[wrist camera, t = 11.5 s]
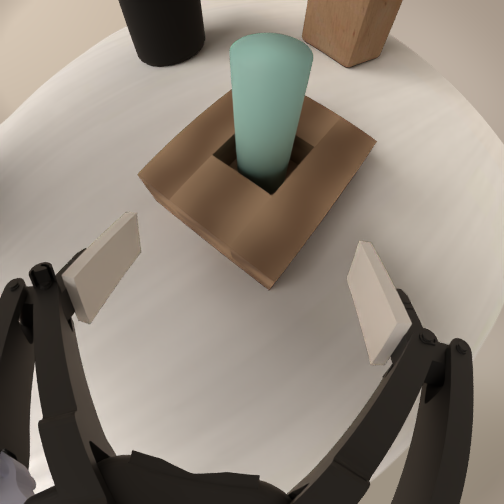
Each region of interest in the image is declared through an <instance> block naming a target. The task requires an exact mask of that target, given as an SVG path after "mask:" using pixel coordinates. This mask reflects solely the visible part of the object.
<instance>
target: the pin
mask: <svg viewBox="0 0 504 504" xmlns="http://www.w3.org/2000/svg"><path fill="white" fill-rule="evenodd" d="M312 62H313V53H312V51H311V50H310V48H309V47H308V46H307V45H306V44H304V43H303V42H301V41H299V40H298V39H295V38H293V37H290V36H287V35H283V34H277V33H257V34H251V35H247V36H245V37H242V38H240V39H238V40H237V41H235V42H234V43H233V44H232V46H231V47H230V68H231V83H232V98H233V112H234V126H235V140H236V154H237V168H238V173H240V174H241V175H243V176H244V177H246V178H247V179H249V180H250V181H252V182H253V183H255V184H256V185H257V186H259V187H260V188H262V189H263V190H265V191H266V192H267V193H269V194H272V193H274V192H276V191H277V190H278V189H279V187H280V186H281V185H282V184H283V183H284V180H285V176H286V172H287V168H288V164H289V160H290V156H291V152H292V147H293V143H294V139H295V135H296V131H297V127H298V122H299V118H300V114H301V110H302V105H303V101H304V97H305V92H306V88H307V84H308V79H309V75H310V71H311V66H312Z"/></svg>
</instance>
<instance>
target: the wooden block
mask: <svg viewBox="0 0 504 504" xmlns="http://www.w3.org/2000/svg"><path fill="white" fill-rule="evenodd" d="M401 3H402V0H308V3H307V9H306V15H305V21H304V27H303V33H302V38H303V40H304V41H306V42H307V43H309V44H311V45H312V46H314V47H316V48H317V49H319V50H320V51H322V52H323V53H325V54H327V55H328V56H330V57H331V58H333V59H334V60H336V61H337V62H339V63H340V64H341V65H343V66H345V67H351V66H354V65H357V64H360V63H362V62H365V61H368V60H371V59H374V58H377V57H378V56H379V55H380V53H381V51H382V49H383V46H384V44H385V42H386V39H387V37H388V34H389V32H390V29H391V27H392V25H393V23H394V20H395V18H396V15H397V13H398V10H399V8H400V5H401Z"/></svg>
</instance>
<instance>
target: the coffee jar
mask: <svg viewBox="0 0 504 504" xmlns="http://www.w3.org/2000/svg"><path fill="white" fill-rule="evenodd" d="M119 3H120V6H121V9H122V12H123V15H124V18H125V21H126V24H127V27H128V29H129V32H130V35H131V38H132V41H133V43H134V46H135V49H136V52H137V54H138V57H139V58H140V59H141V61H143V62H144V63H147V64H148V65H151V66H158V67H162V66H170V65H174V64H177V63H181V62H183V61H185V60H188V59H190V58H191V57H193V56H194V55H196V54H197V53H198V52H199V50H200V49H201V47H202V46H203V44H204V41H205V32H204V24H203V17H202V9H201V1H200V0H119Z"/></svg>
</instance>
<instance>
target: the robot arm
mask: <svg viewBox="0 0 504 504" xmlns="http://www.w3.org/2000/svg"><path fill="white" fill-rule="evenodd" d="M140 253H141V246H140V238H139V229H138V219H137V213H133V212H125V213H124V214H123V215H122V216H121V217H120V218H119V219H118V220H117V221H115V222H114V223H113V224H112V225H111V226H110V227H109V228H108V229H107V230H106V231H105V232H104V233H103V234H101V235H100V236H99V237H98V238H97V239H96V240H95V241H94V242H93V243H92V244H91V245H90V246H89V247H88V248H87V249H86V248H85V249H83V250H81V251H80V252H78V253H77V254H76V255H75V256H74V257H73V258H72V259H71V260H70V261H69V262H68V264H66V265H65V266H64V267H63V268H62V269H61V270H60V271H59V272H58V273H57V274H56V275H55V273H54V270H53V267H52V264H50V263H48V262H43V263H39V264H37V265H35V266H34V267H32V269H31V270H30V271H29V277H30V279H31V282H32V284H33V286H30V287H26V284H25V282H24V280H23V279H22V278H16V279H13V280H11V281H10V282H9V283H8V284H7V285H6V287H5V288H4V291H3V293H2V295H1V298H0V504H358V502H359V501H360V500H361V498H362V497H363V496H364V494H365V493H366V492H367V490H368V488H369V486H370V482H369V480H370V478H371V476H372V475H373V473H374V472H375V470H376V469H377V467H378V466H379V464H380V463H381V461H382V460H383V458H384V457H385V455H386V454H387V452H388V450H389V449H390V447H391V445H392V444H393V442H394V440H395V439H396V437H397V435H398V433H399V431H400V430H401V428H402V426H403V424H404V422H405V420H406V418H407V417H408V415H409V413H410V411H411V409H412V407H413V404H414V402H415V400H416V398H417V396H418V394H419V392H420V389H421V387H422V390H421V397H420V403H419V408H418V413H417V418H416V423H415V428H414V432H413V436H412V441H411V444H410V448H409V452H408V455H407V459H406V462H405V466H404V469H403V472H402V475H401V478H400V481H399V484H398V487H397V489H396V492H395V495H394V497H393V500H392V502H391V504H460V499H461V496H462V492H463V487H464V483H465V478H466V473H467V467H468V461H469V454H470V446H471V437H472V424H473V365H472V352H471V348H470V347H469V345H468V344H467V343H466V342H465V341H464V340H462V339H459V338H455V339H453V340H452V341H451V343H450V344H449V345H447V344H444V343H440V342H438V340H437V337H436V336H435V335H434V333H432V332H431V331H430V330H428V329H426V328H423V327H422V325H421V322H420V320H419V318H418V316H417V314H416V312H415V310H414V308H413V306H412V304H411V302H410V300H409V298H408V296H407V295H406V294H405V293H404V292H403V291H402V290H401V289H395V287H394V285H393V283H392V281H391V279H390V277H389V275H388V273H387V271H386V269H385V267H384V265H383V263H382V261H381V260H380V258H379V256H378V254H377V252H376V251H375V249H374V247H373V245H372V243H371V242H366V241H359V243H358V246H357V249H356V252H355V255H354V258H353V261H352V264H351V267H350V270H349V273H348V276H347V282H348V285H349V288H350V291H351V295H352V298H353V301H354V305H355V308H356V311H357V315H358V318H359V322H360V325H361V329H362V333H363V337H364V340H365V344H366V348H367V352H368V356H369V360H370V364H371V365H385V364H386V363H387V361H388V360H389V358H390V357H391V360H392V363H393V364H392V365H391V366H390V368H389V369H388V370H387V372H386V373H385V374H384V376H383V379H382V381H381V382H380V384H379V386H378V387H377V389H376V390H375V392H374V393H373V395H372V396H371V398H370V399H369V401H368V402H367V404H366V405H365V406H364V408H363V409H362V411H361V412H360V413H359V415H358V416H357V418H356V419H355V420H354V422H353V423H352V424H351V425H350V427H349V428H348V429H347V431H346V432H345V433H344V434H343V436H342V437H341V438H340V439H339V441H338V442H337V443H336V444H335V445H334V447H333V448H332V449H331V450H330V451H329V453H328V454H327V455H326V456H325V457H324V458H323V459H322V460H321V462H320V463H319V464H318V465H317V466H316V467H315V468H314V469H313V470H312V471H311V472H310V473H309V474H308V475H307V476H306V477H305V478H304V479H303V480H302V481H300V482H299V483H298V484H297V485H296V486H295V487H294V488H293V489H292V490H291V491H289V492H288V493H287V494H286V493H285V492H283V491H282V490H280V489H279V488H277V487H275V486H273V485H272V484H269V483H267V482H264V481H261V480H259V477H260V475H248V474H238V473H230V472H222V473H205V474H193V473H189V472H187V471H185V470H183V469H181V468H179V467H176V466H174V465H172V464H170V463H168V462H167V461H165V460H163V459H160V458H156V457H153V456H150V455H146V454H143V453H140V452H137V451H134V450H133V451H132V454H131V455H119V456H116V454H115V452H114V451H113V449H112V447H111V446H110V444H109V443H108V441H107V439H106V437H105V435H104V432H103V430H102V427H101V424H100V422H99V419H98V416H97V413H96V410H95V407H94V404H93V401H92V398H91V395H90V392H89V388H88V385H87V381H86V378H85V374H84V370H83V366H82V362H81V358H80V353H79V349H78V344H77V339H76V334H75V328H74V323H73V320H72V318H71V317H72V315H73V314H74V312H75V313H76V316H77V318H78V320H79V321H82V322H85V323H88V324H91V322H92V321H93V319H94V318H95V316H96V315H97V313H98V312H99V310H100V309H101V307H102V306H103V304H104V303H105V301H106V300H107V298H108V297H109V296H110V294H111V293H112V291H113V290H114V288H115V287H116V286H117V284H118V283H119V281H120V280H121V279H122V277H123V276H124V274H125V273H126V272H127V270H128V269H129V268H130V266H131V265H132V264H133V262H134V261H135V260H136V258H137V257H138V256H139V254H140ZM34 365H35V366H36V375H37V383H38V391H39V397H40V403H41V408H42V414H43V419H42V420H40V421H39V423H38V428H39V433H40V438H41V442H42V446H43V449H44V453H45V456H46V460H47V463H48V466H49V469H50V472H51V475H52V478H53V481H54V484H55V486H53V487H50V488H48V489H46V490H44V491H42V492H40V493H37V494H34V492H33V490H34V489H35V488H36V482H35V480H34V478H33V477H31V475H30V473H29V471H28V469H29V458H30V403H31V390H32V381H33V372H34Z"/></svg>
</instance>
